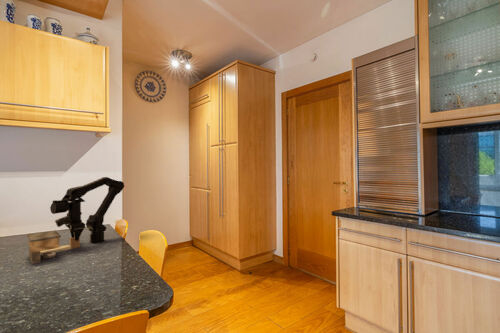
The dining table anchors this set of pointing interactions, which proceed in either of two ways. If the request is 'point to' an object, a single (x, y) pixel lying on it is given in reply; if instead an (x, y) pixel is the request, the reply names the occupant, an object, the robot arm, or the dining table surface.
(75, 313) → the dining table surface
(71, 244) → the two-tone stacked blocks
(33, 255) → the cabinet
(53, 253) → the token
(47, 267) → the dining table surface
